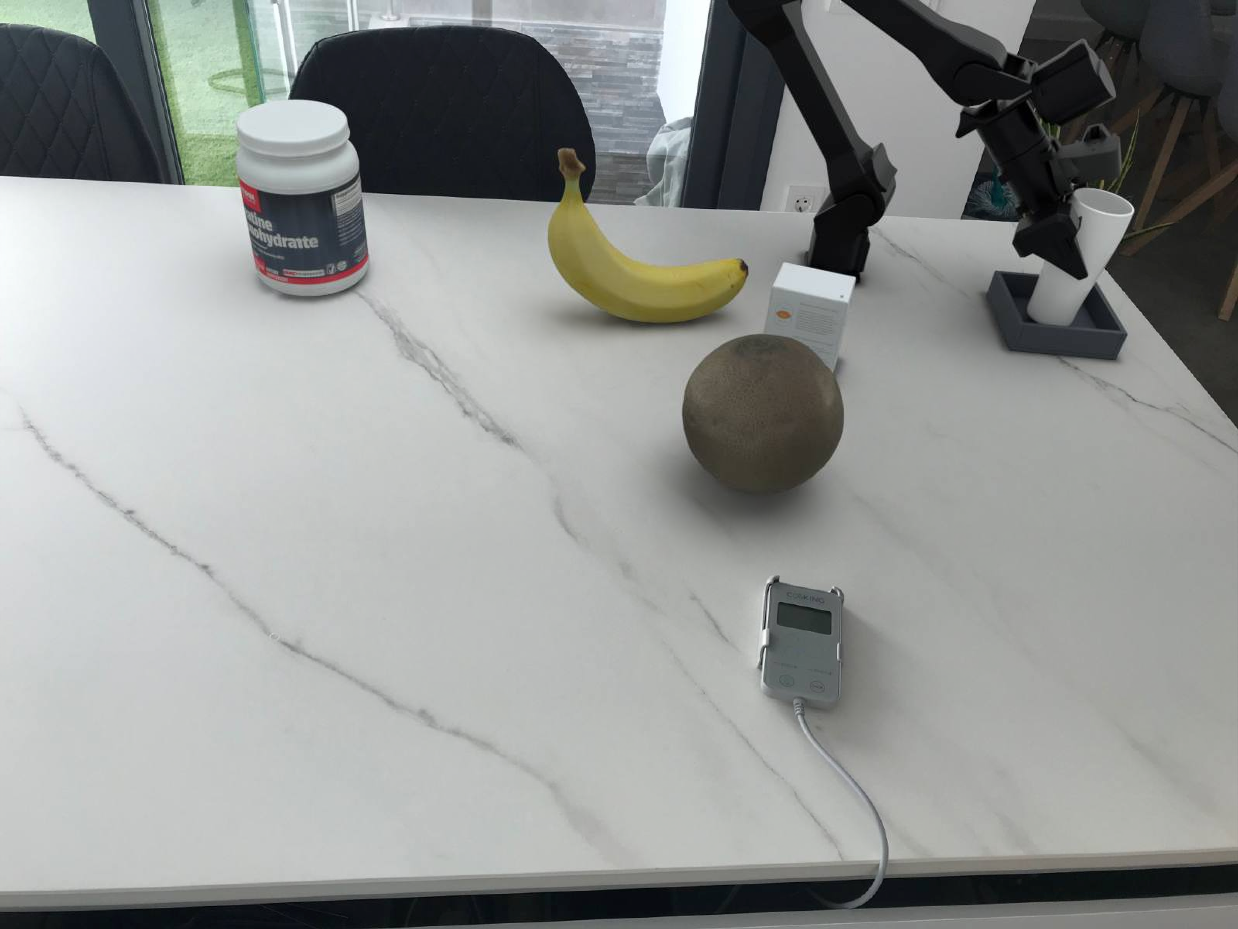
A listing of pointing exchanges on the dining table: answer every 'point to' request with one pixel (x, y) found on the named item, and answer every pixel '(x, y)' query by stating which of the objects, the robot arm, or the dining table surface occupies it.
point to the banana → (631, 267)
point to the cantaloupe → (762, 413)
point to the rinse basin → (1084, 337)
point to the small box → (810, 308)
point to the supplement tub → (302, 197)
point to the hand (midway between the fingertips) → (1085, 265)
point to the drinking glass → (1097, 242)
